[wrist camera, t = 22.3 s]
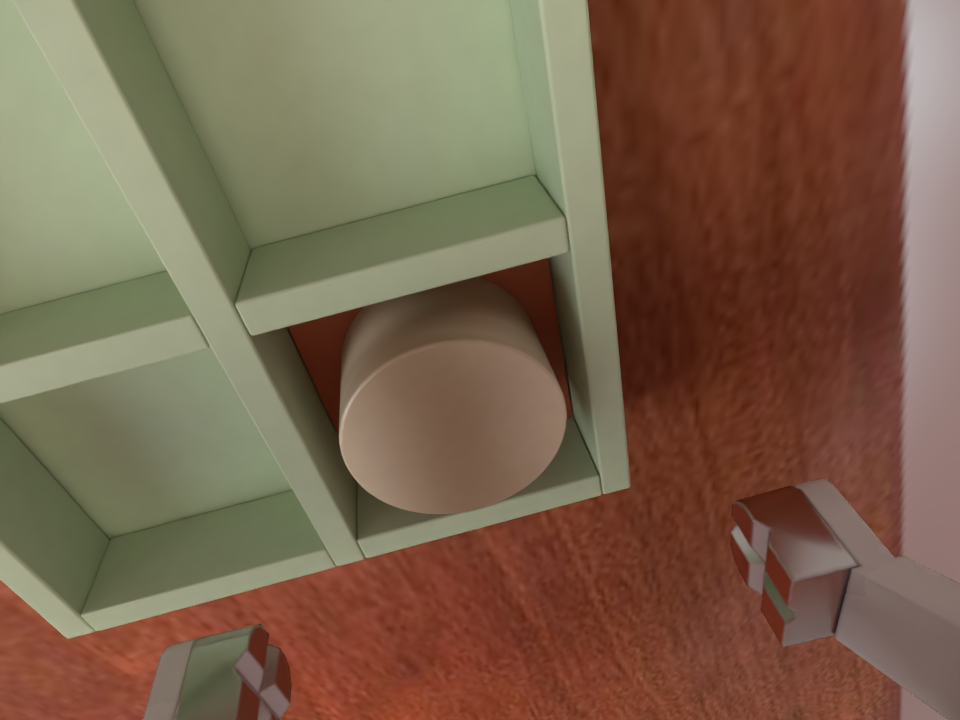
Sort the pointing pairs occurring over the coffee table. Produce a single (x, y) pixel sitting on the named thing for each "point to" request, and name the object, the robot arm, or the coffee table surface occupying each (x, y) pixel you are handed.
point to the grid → (270, 274)
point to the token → (447, 399)
